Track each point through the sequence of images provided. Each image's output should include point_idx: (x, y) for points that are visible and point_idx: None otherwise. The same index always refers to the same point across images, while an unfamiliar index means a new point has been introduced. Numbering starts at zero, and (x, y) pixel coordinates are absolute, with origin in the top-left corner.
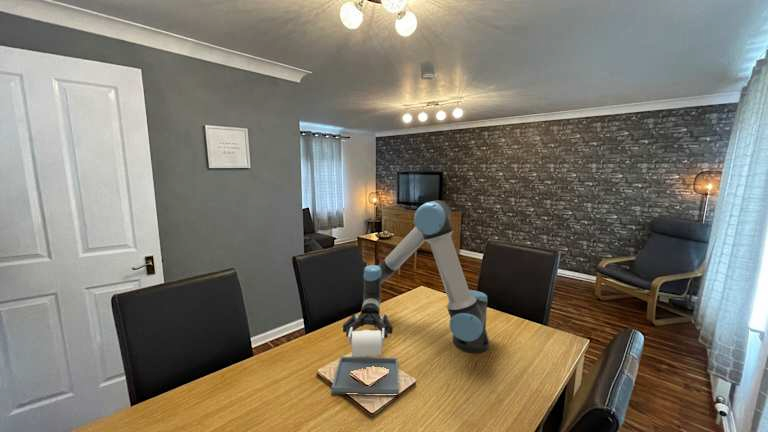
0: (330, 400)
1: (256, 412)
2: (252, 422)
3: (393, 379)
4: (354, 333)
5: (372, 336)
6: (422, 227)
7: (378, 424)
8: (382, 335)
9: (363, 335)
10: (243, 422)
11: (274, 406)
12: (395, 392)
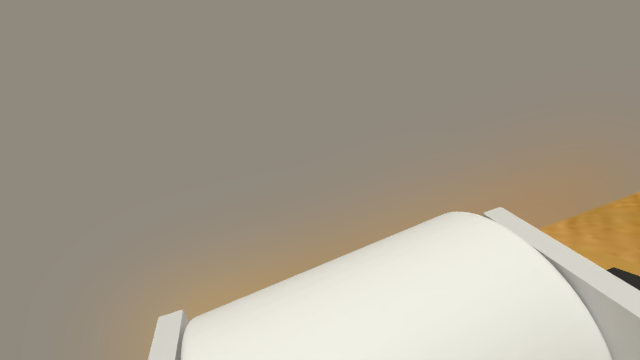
0: None
1: (626, 233)
2: (588, 218)
3: None
4: (468, 224)
5: (280, 282)
6: None
7: None
8: (169, 348)
9: (370, 248)
10: (607, 211)
11: (616, 260)
12: None
